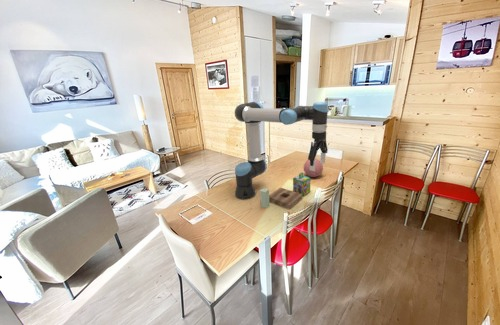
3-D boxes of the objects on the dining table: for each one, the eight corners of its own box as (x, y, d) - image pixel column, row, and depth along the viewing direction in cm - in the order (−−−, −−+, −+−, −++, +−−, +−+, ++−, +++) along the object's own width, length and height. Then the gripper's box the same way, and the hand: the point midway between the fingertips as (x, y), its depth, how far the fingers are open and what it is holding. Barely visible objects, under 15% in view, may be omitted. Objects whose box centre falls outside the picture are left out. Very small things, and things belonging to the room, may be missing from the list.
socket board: (267, 200, 146) (267, 196, 144) (280, 191, 157) (280, 187, 155) (289, 209, 134) (289, 204, 133) (302, 198, 145) (302, 194, 144)
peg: (261, 206, 140) (260, 190, 135) (264, 203, 142) (264, 188, 138) (265, 208, 137) (265, 192, 133) (269, 205, 140) (268, 189, 136)
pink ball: (328, 173, 180) (329, 156, 175) (316, 181, 167) (317, 163, 162) (312, 169, 191) (312, 153, 185) (299, 177, 178) (300, 159, 173)
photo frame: (192, 224, 126) (178, 213, 138) (193, 225, 126) (178, 214, 138) (212, 213, 135) (197, 203, 147) (212, 214, 136) (197, 205, 148)
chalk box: (303, 196, 147) (303, 177, 142) (292, 192, 154) (292, 174, 149) (310, 191, 153) (311, 173, 148) (300, 188, 160) (300, 170, 154)
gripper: (315, 136, 106) (313, 175, 113) (334, 127, 123) (332, 161, 130) (301, 135, 111) (301, 172, 118) (322, 126, 128) (320, 159, 135)
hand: (317, 166), depth 124 cm, fingers open, 13 cm apart
